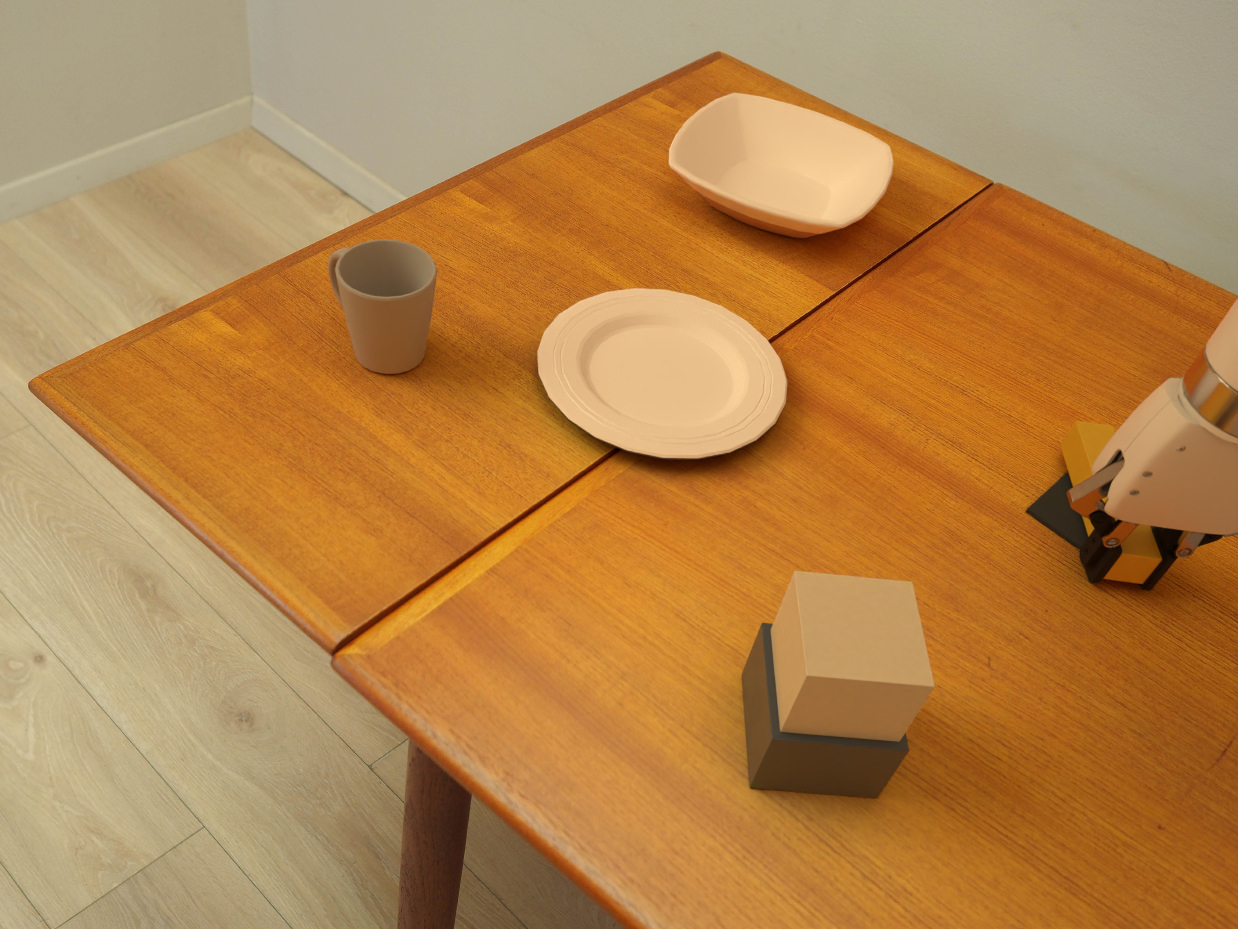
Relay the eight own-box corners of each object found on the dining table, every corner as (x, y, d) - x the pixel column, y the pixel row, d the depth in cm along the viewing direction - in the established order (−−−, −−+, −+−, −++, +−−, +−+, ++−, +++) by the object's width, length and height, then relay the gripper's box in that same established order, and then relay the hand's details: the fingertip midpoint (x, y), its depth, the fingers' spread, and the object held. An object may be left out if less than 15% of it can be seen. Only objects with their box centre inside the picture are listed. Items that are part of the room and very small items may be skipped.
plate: (755, 506, 80) (760, 489, 78) (497, 426, 82) (498, 408, 81) (802, 343, 94) (807, 326, 92) (581, 279, 96) (583, 262, 95)
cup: (390, 397, 83) (386, 312, 76) (301, 339, 86) (291, 253, 80) (456, 352, 87) (458, 268, 81) (370, 298, 91) (365, 214, 84)
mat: (1162, 525, 84) (1164, 522, 83) (1115, 575, 79) (1118, 572, 79) (1074, 466, 87) (1076, 463, 87) (1025, 511, 83) (1027, 508, 82)
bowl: (840, 288, 100) (855, 242, 96) (635, 211, 105) (643, 164, 101) (896, 187, 115) (912, 143, 111) (714, 123, 119) (724, 79, 115)
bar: (1059, 445, 87) (1075, 419, 85) (1097, 450, 88) (1113, 425, 85) (1101, 578, 78) (1120, 553, 76) (1143, 584, 78) (1163, 559, 76)
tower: (859, 684, 70) (919, 575, 61) (877, 798, 64) (946, 695, 56) (741, 674, 69) (784, 562, 60) (749, 788, 64) (798, 683, 55)
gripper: (1351, 372, 69) (1203, 548, 82) (1107, 336, 68) (998, 519, 81) (1402, 454, 64) (1236, 627, 77) (1138, 415, 63) (1016, 597, 76)
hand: (1115, 570), depth 79 cm, fingers closed on bar, 3 cm apart
